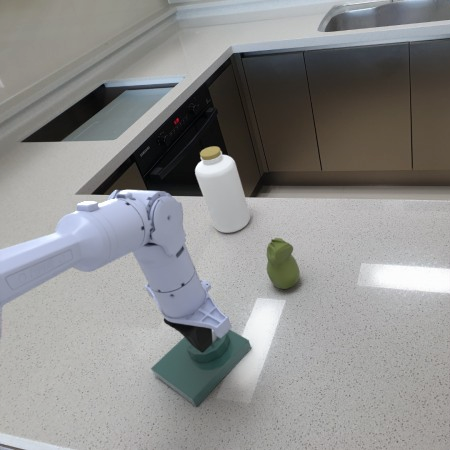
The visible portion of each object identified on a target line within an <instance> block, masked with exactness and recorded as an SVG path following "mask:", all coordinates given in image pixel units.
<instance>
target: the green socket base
mask: <svg viewBox="0 0 450 450" xmlns="http://www.w3.org/2000/svg"><path fill="white" fill-rule="evenodd" d="M250 342H251V341H250V340H249V339H247V338H246V337H244V336H242V335H240V334H239V333H237V332H235V331H233V330H231V329H230V330H229V331H228V332H227V333H226V334H225V335H224V336H223V337H222V338H219V337H217V340H216V342H215V343H214V344H213V345H211V346H209V347H208V348H207V349H206V350H205V351H204V352H203V353H202V352H200V351H199V350H197V349H196V348H194V347H193V346H192V345H191V344H190V342H189V341H188V340H187V339H186V338H185V337H184V336H183V338H182V339H180V341H178V342H177V343H176V345H174V346H173V347H172V348H171V349H170V350H169V351H167V353H166V354H164V356H162V358H160V359H159V360H158V361H157V362H156V363H155V364H154V365H153V366H152V367H150V370H151V372H152V374H153V375H154V377H156V378H157V379H159V380H160V381H161V382H163V383H164V384H165V385H167V387H168V388H169V387H170V388H171V389H172V390H173V391H175V392H176V393H177V394H179V395H180V396H181V397H183V398H184V399H185V400H187V401H188V402H189V403H191V404H192V405H193V406H195V407H198V406H199V405H200V404H201V403H203V401H204V400H205V399H206V397H207V396H208V395H210V393H212V391H213V390H214V389H215V388H216V387H217V386H218V385H219V384H220V382H222V381H223V379H224V378H225V377H227V375H228V374H229V373H230V372H231V371H232V370H233V369H234V368H235V366H236V365H238V363H239V362H240V361H241V360H242V359H243V358H244V357H245V356H247V354H248V353H249V351H250V350H252V346H251V343H250Z"/></svg>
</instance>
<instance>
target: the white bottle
mask: <svg viewBox="0 0 450 450" xmlns="http://www.w3.org/2000/svg"><path fill="white" fill-rule="evenodd" d="M199 155H200V160H201V161H199V162H198V163H197V165H196V166H195V169H194V172H195V173H194V174H195V177H196V180H197V183H198V185H199V189H200V191H201V194H202V197H203V200H204V202H205V205H206V208H207V211H208V214H209V217H210V219H211V222H212V225H213V227H214V228H215V230H216V231H218V232H220V233H224V234H225V233H226V234H228V233H229V234H231V233H234V232H238V231H240V230H242V229H243V228H245V227H246V226H247V225H248V223H249V222H250V219H251V213H250V209H249V206H248V202H247V198H246V196H245V195H246V194H245V192H244V189H243V184H242V181H241V177H240V175H239V171H238V168H237V163H236V161H235V160H234V158H233V157H231V156H229V155H227V154H223V151H222V150H221V148H220V147H219V146H214V145H213V146H209V147H205V148H204V149H202V150H201V151H199Z"/></svg>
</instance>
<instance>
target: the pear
mask: <svg viewBox="0 0 450 450" xmlns="http://www.w3.org/2000/svg"><path fill="white" fill-rule="evenodd" d="M293 251H294V246H293V244H291V243H289V242H287V241H285V240H284V239H282V238H280V237H275V238H271V241H270V242H269V243H267V247H266V259H267V264H266V273H267V277H268V278H269V280H270V282H271V283H272V284H273V285H274V286H275V287H277V288H278V289H280V290H288V289H291V288H292V287H294V286H295V285H296V284H297V283H298V281H299V279H300V277H301V276H300V275H301V271H300V268H299V265H298V262H297V260H296V259H295V257H294V255H293Z"/></svg>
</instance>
